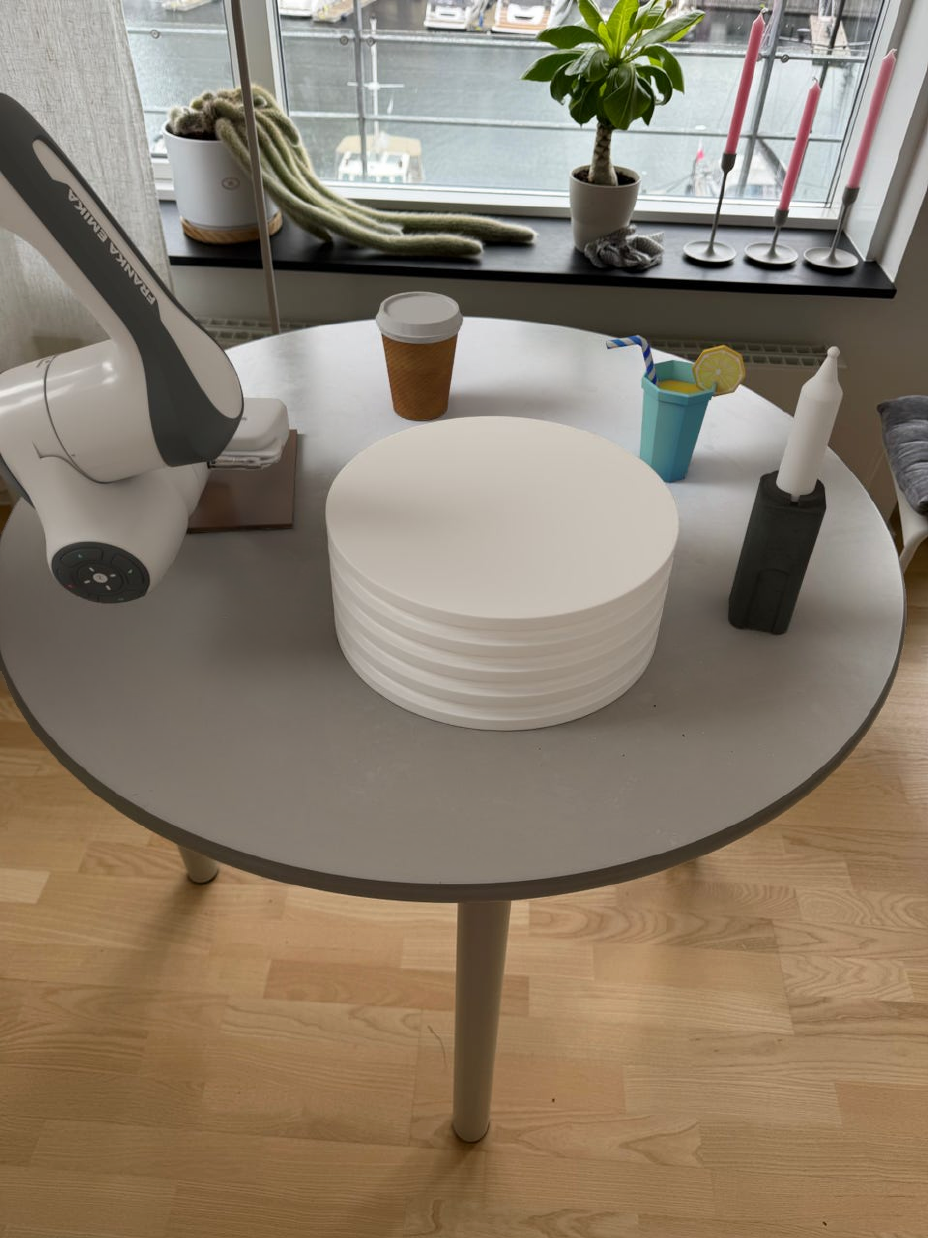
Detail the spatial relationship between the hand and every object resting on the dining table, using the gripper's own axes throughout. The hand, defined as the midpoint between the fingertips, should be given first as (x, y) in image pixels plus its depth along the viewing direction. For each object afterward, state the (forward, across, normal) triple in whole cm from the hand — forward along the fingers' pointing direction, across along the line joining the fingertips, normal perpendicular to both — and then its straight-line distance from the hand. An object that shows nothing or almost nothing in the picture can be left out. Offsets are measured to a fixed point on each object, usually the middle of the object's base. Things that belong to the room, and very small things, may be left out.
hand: (193, 387), depth 93 cm
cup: (+4, -47, +10) cm, 48 cm away
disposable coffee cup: (+16, -21, +10) cm, 28 cm away
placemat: (-1, 0, +10) cm, 10 cm away
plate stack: (-20, -30, +10) cm, 37 cm away
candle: (-20, -53, +10) cm, 57 cm away
